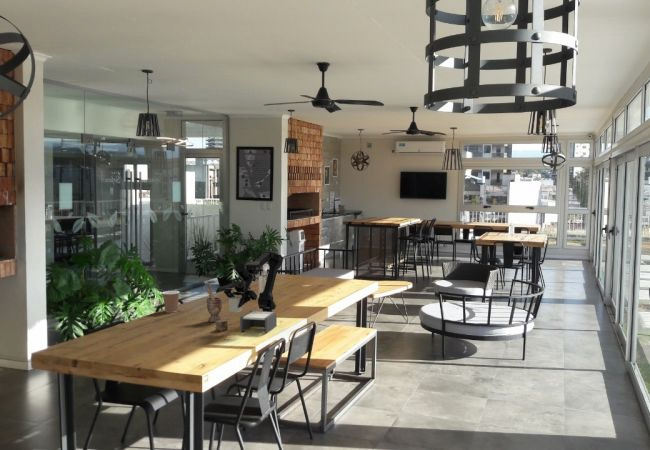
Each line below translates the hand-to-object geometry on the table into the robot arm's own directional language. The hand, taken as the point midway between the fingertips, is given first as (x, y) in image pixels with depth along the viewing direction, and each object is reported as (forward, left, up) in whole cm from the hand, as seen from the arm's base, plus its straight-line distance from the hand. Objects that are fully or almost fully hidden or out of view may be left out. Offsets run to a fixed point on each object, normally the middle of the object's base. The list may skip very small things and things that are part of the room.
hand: (234, 307), depth 333 cm
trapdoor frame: (-9, +11, -13) cm, 19 cm away
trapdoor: (-9, +11, -9) cm, 16 cm away
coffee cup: (-40, -58, -14) cm, 72 cm away
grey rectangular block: (-1, 0, -2) cm, 3 cm away
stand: (-2, -8, -13) cm, 16 cm away
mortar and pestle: (-22, -22, -14) cm, 34 cm away
